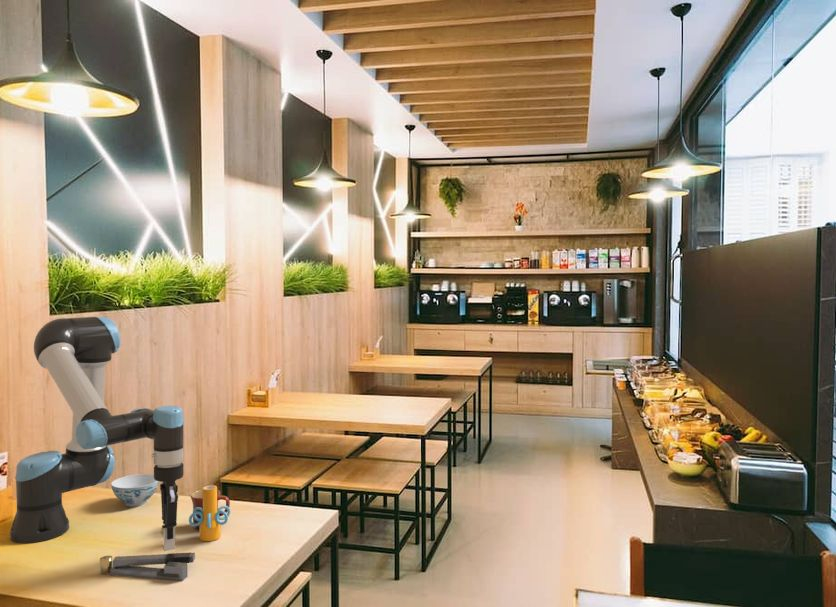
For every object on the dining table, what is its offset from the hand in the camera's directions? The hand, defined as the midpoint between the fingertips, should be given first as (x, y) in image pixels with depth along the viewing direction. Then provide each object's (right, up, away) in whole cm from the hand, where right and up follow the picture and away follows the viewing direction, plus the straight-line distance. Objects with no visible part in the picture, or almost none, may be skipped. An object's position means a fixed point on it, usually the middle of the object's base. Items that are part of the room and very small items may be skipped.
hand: (169, 548), depth 172 cm
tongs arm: (-1, -1, -7) cm, 7 cm away
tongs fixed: (-3, -3, -10) cm, 11 cm away
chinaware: (-28, -1, +42) cm, 51 cm away
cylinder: (+7, -2, +13) cm, 15 cm away
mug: (+4, -2, +22) cm, 22 cm away
